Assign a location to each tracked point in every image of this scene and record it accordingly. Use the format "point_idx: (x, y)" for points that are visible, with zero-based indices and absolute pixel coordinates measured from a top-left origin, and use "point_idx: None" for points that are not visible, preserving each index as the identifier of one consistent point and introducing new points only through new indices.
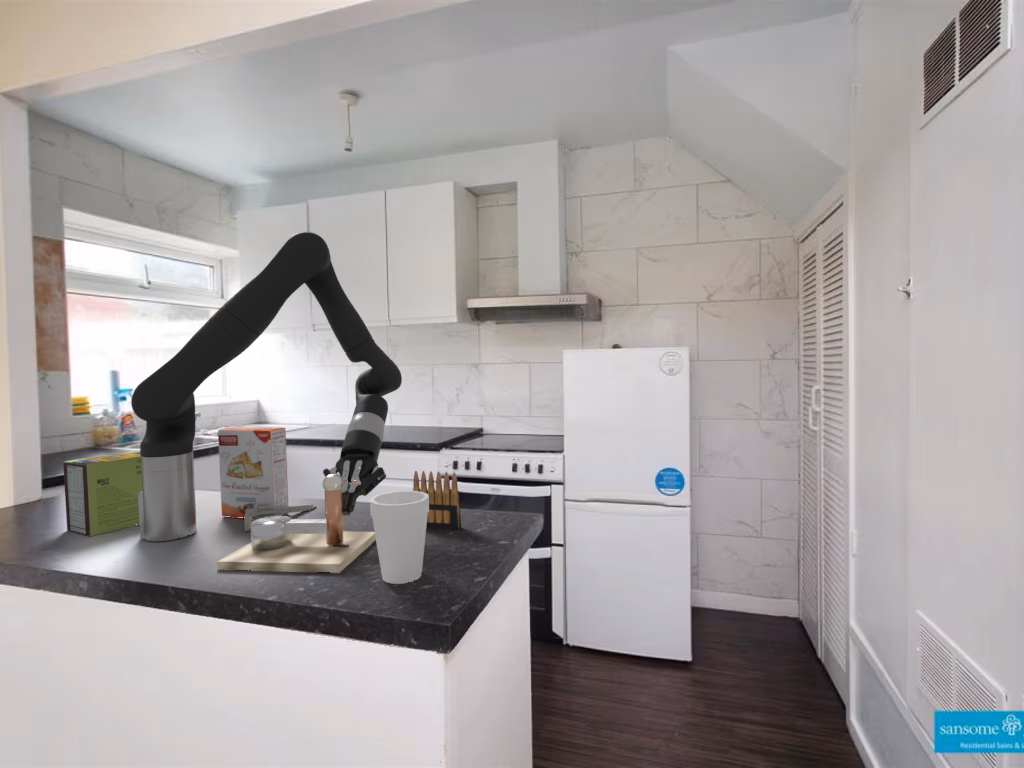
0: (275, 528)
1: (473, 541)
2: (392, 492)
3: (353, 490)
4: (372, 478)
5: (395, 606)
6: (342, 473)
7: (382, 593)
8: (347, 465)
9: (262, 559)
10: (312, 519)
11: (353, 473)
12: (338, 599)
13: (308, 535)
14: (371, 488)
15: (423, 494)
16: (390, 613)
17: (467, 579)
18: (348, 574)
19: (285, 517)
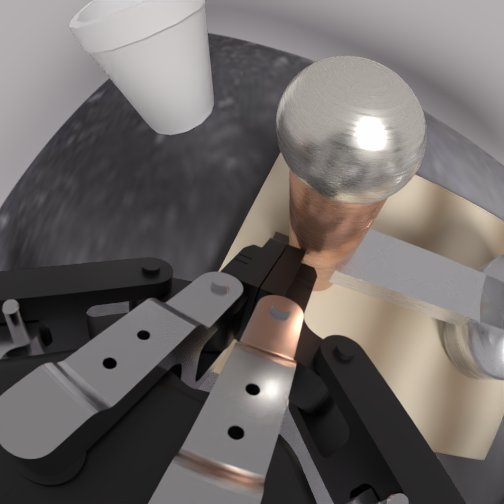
0: (497, 257)
1: (24, 240)
2: (121, 10)
3: (210, 275)
4: (56, 273)
5: (214, 47)
6: (281, 462)
7: (223, 70)
8: (193, 493)
9: (470, 217)
10: (411, 292)
11: (156, 364)
12: (286, 66)
13: (401, 395)
14: (102, 318)
15: (79, 15)
16: (223, 39)
17: (108, 95)
18: (273, 132)
19: (498, 352)
